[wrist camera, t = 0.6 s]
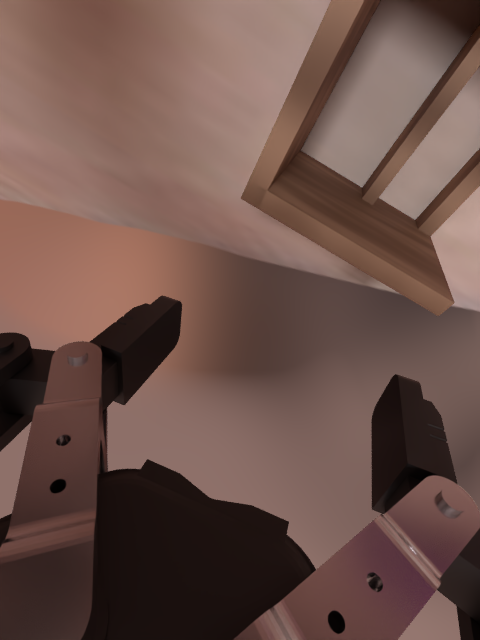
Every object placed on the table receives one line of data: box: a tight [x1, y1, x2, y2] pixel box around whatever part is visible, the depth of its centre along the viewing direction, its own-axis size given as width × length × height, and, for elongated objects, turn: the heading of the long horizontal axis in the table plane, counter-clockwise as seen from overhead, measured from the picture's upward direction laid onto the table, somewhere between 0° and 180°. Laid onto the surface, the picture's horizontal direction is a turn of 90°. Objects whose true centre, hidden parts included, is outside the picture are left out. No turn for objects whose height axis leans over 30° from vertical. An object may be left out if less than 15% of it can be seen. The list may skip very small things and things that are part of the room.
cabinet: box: [241, 0, 480, 316], centre depth 19 cm, size 16×14×12 cm
